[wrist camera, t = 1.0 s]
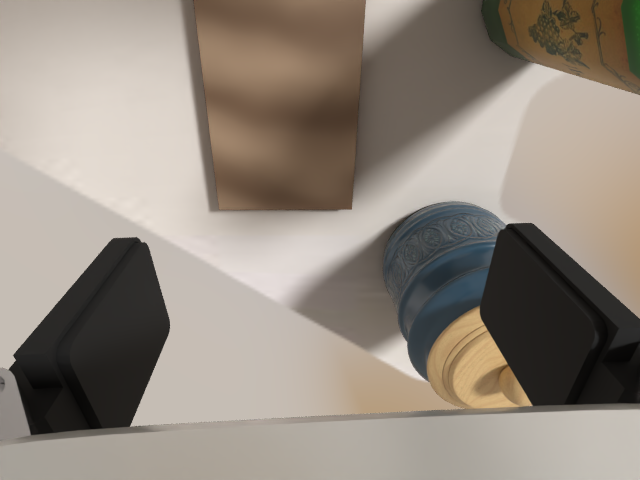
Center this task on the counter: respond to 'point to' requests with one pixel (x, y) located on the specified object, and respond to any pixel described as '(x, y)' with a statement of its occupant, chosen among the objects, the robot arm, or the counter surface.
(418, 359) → the canister
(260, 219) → the counter surface
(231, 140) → the walnut board
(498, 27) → the bottle
